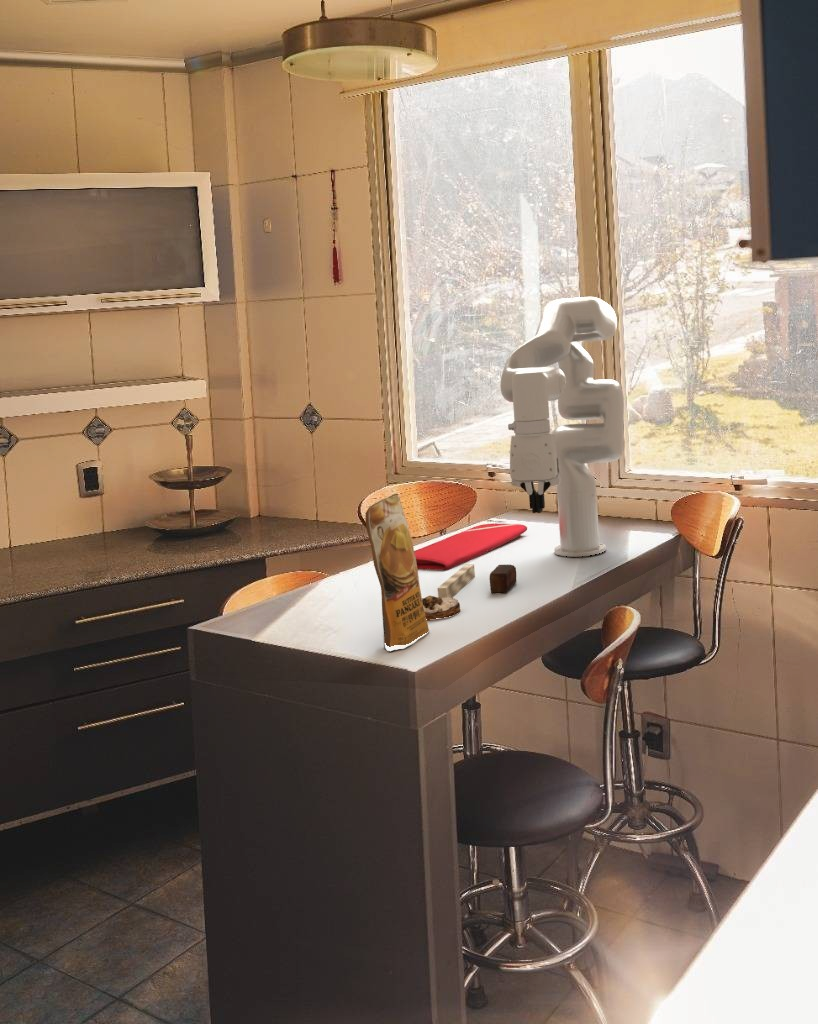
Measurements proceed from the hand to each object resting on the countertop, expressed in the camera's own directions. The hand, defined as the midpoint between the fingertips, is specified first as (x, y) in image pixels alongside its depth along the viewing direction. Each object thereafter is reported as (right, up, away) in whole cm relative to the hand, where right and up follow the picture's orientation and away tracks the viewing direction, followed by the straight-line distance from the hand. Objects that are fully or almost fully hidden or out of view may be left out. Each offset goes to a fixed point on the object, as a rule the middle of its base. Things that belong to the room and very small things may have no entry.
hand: (537, 511), depth 262 cm
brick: (-7, -17, +6) cm, 20 cm away
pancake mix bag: (-29, -25, -28) cm, 48 cm away
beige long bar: (-17, -17, +9) cm, 26 cm away
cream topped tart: (-24, -22, -10) cm, 33 cm away
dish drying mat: (-14, -11, +49) cm, 52 cm away
